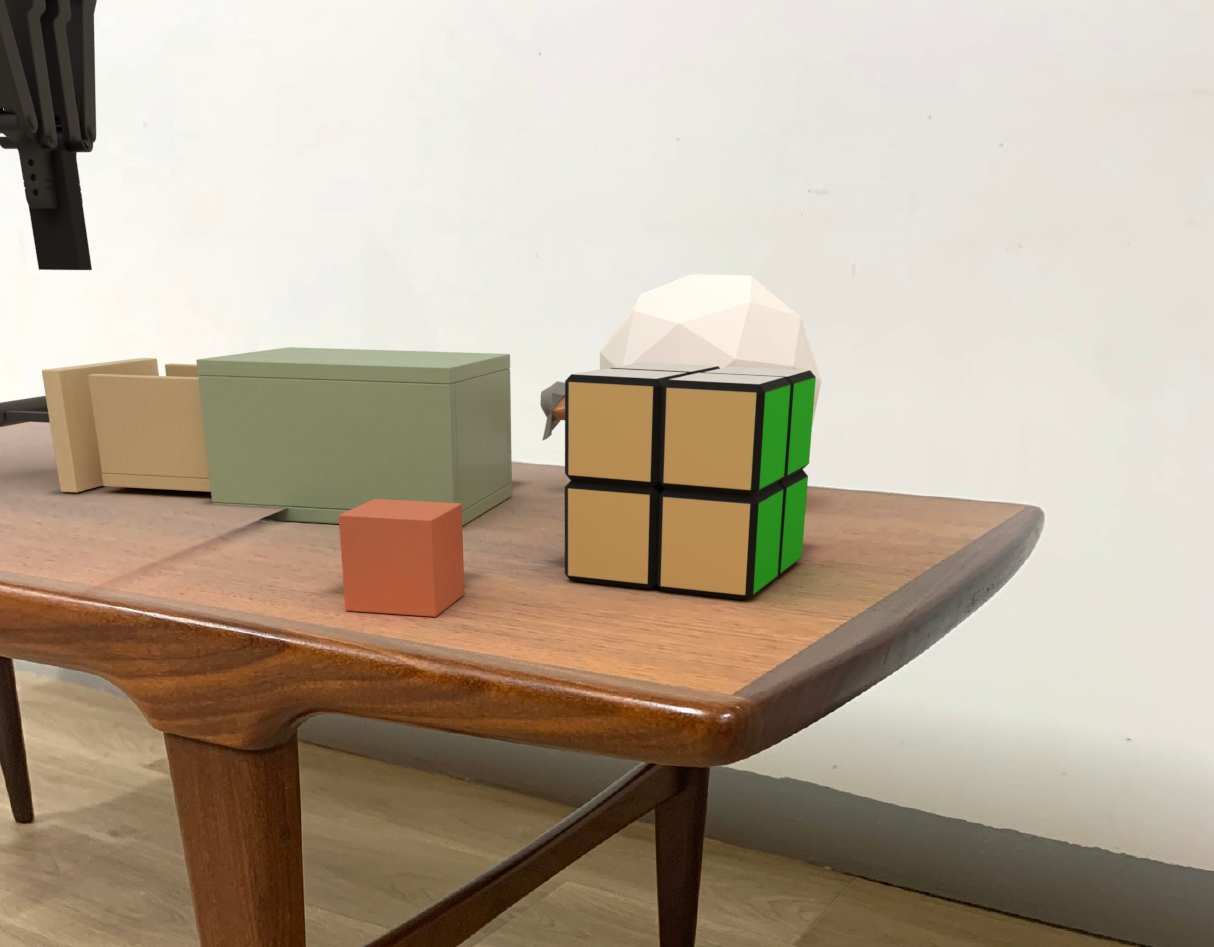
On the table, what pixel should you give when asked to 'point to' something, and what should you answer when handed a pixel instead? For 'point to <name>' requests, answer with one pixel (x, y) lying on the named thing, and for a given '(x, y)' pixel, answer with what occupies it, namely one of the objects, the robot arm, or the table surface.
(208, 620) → the table surface
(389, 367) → the cabinet
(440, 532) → the block
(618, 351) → the person on sphere
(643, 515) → the puzzle cube
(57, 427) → the drawer
